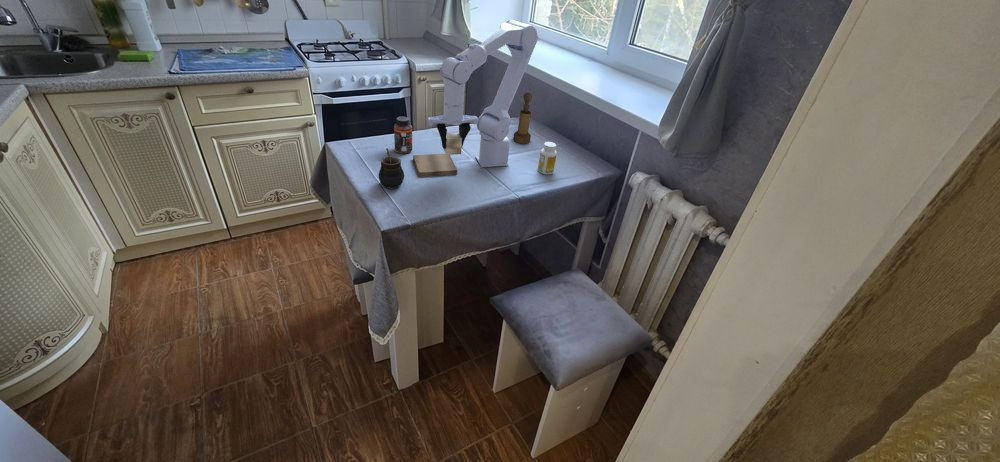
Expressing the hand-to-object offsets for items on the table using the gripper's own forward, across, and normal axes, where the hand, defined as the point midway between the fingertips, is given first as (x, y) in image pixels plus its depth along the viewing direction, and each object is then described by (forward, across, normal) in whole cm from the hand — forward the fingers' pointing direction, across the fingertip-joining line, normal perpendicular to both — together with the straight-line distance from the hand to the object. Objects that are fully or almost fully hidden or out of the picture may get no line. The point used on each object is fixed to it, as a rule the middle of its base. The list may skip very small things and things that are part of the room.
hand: (452, 146), depth 131 cm
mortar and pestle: (+10, +33, +23) cm, 41 cm away
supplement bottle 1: (+10, -12, +19) cm, 24 cm away
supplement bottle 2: (+10, +32, -2) cm, 33 cm away
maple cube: (+1, 0, 0) cm, 1 cm away
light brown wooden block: (+10, -4, +6) cm, 12 cm away
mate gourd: (+10, -19, -3) cm, 22 cm away
